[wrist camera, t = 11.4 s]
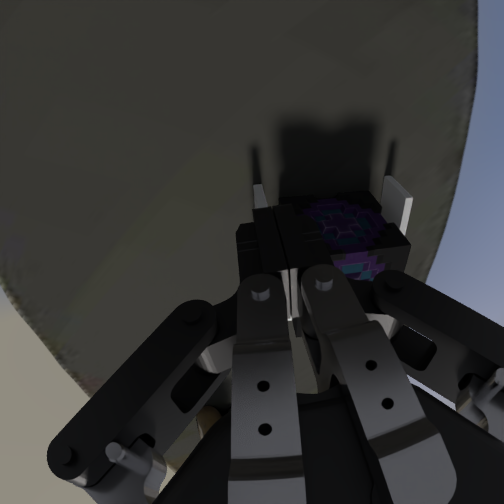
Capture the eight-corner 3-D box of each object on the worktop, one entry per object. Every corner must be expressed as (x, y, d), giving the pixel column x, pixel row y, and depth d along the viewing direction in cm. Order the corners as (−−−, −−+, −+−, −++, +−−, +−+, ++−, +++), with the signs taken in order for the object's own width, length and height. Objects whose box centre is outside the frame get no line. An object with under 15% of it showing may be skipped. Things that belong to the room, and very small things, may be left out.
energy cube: (368, 190, 39) (411, 245, 30) (358, 261, 47) (388, 321, 37) (278, 197, 39) (299, 258, 30) (280, 271, 46) (296, 337, 37)
